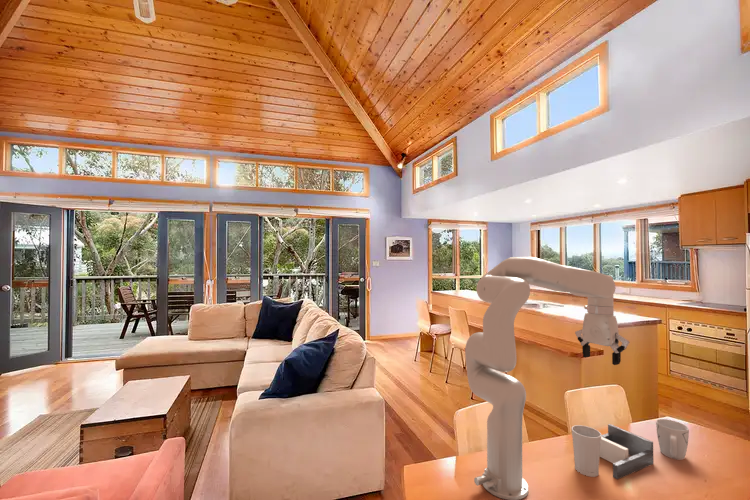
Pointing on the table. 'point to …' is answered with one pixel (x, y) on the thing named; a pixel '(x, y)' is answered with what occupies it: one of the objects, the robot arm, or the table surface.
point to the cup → (586, 449)
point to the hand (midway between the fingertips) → (600, 360)
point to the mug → (672, 438)
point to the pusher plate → (612, 451)
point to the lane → (630, 451)
